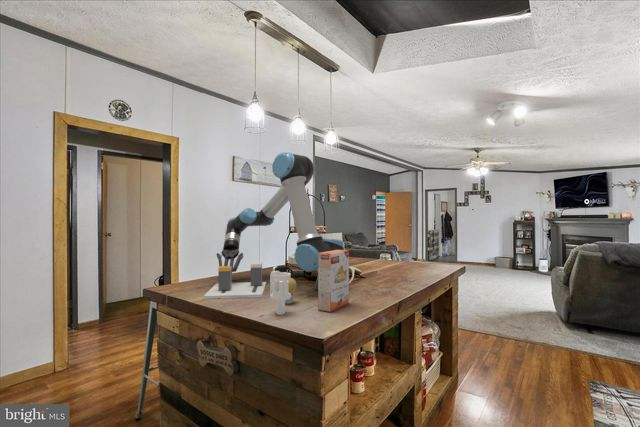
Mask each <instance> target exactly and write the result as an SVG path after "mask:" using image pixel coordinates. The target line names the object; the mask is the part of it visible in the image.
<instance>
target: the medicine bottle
mask: <svg viewBox="0 0 640 427" xmlns="http://www.w3.org/2000/svg"><path fill="white" fill-rule="evenodd" d="M274 271H280V272H287V271H288V269H287V266H285V265H275V266H274V267H272V272H274ZM287 273H288V272H287ZM272 293H273V282H271V278H269V296H270V295H271V294H272Z"/></svg>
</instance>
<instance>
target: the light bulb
mask: <svg viewBox="0 0 640 427" xmlns="http://www.w3.org/2000/svg"><path fill="white" fill-rule="evenodd" d="M287 281H288V290H289V293H290V294H291V298H290V299H287V300H285V305H291V304H293V303H294V295H293V294H294V293H295V291H296V290H297V281H296V280H295V279H294V278H292V277H290V278H287Z"/></svg>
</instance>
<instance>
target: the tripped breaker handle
mask: <svg viewBox="0 0 640 427" xmlns="http://www.w3.org/2000/svg"><path fill="white" fill-rule="evenodd" d="M232 275H233V272H232V266H230V265H228V266H224V265H222V266H220V267H218V277H217V278H218V283H219V291H222V290H231V289H232V283H233V281H232V279H233V278H232Z"/></svg>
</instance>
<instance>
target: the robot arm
mask: <svg viewBox="0 0 640 427" xmlns="http://www.w3.org/2000/svg"><path fill="white" fill-rule="evenodd" d="M271 168H272V173H273V176H275V177H276V178H278V179H279V180H280V184H281V187H280V188H279V189H278V190H277V191H276V193H274V194H273V196H272V197H271V198H270V199H269V200H268V201H267V203H266V204H265V205H264V206H263V207H262V208H261V210H260V211H255V209H253V208H251V207H247V208H246V207H245V209H243V210H241V212H240V213H238V214H237V215H236V217H232V218H231V217H230V218H229V219H228V220H227V221H228V222H227V224H226V232H225V236H224V241H223V242H224V243H223V247H222V250H221V252H220V253H218V252H217V253H216V254H215V255H216V257H217V259H218V266H219V267H220V266H232V273H235V272H237V270H238V268H239V266H240V263H241V261H242V259H243V258H244V253H243V252H240V242H241V235H242V233H243V231H245V230H246V229H247V228H249V227H262V226H263V227H266V226H271V225H272V224H273V223H274V220H275V216H276V215H277V214H278V213H279V212H280V211H281V210H282V209H283V208H284V207H285V205H286V204H288V203H289V206H290V210H291V213H292V217H293V221H294V225H295V229H296V233H297V236H298V239H297V241H296V248H295V250H294V254H293V255H294V260H295V263H296V264H297V266H298V268H300V269H302V270H303V271H305V272H315V271H318V259H319V253H321V252H327V251H333V250H345V247H344V241H343V240H341V239H335V238H334V239H333V238H323V235H321V234H320V233H319V232H318V230H317V226H316V222H315V219H314V214H313V211H312V207H311V203H310V199H309V196H308V191H307V190H306V189H307V188H306V185H308V184H309V183H310V181H311V180H312V179H313V176H314V172H315V166H314V163H313V161H312V160H311V159H310V158H309V157H308V156H305V155H300V154H295V153H292V152H285V151H284V152H279V153H278V154H277V155H276V156H275V157H274V160H273V162H272V166H271ZM222 257H224V264H223V260H222ZM235 259H236V260H235ZM219 267H218V268H219ZM314 285H315V286H314V289H315V290H316V291H318V276H317V278H316V281H315V284H314Z"/></svg>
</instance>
